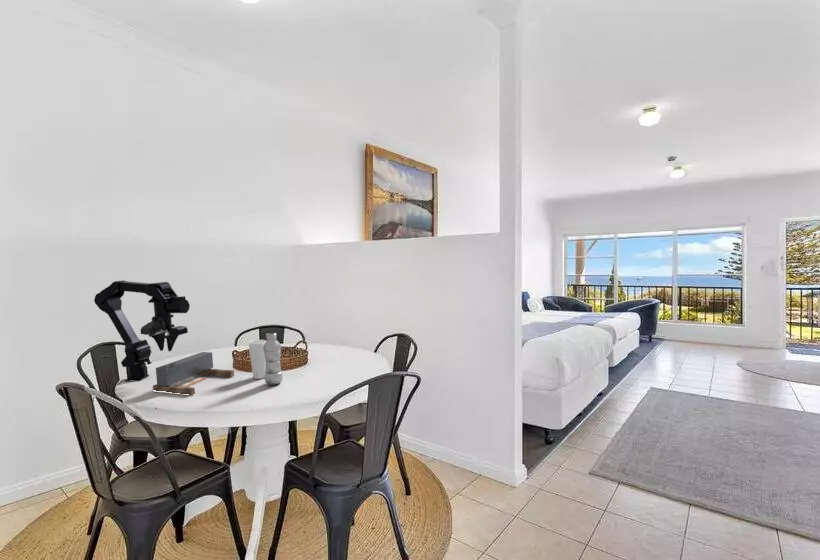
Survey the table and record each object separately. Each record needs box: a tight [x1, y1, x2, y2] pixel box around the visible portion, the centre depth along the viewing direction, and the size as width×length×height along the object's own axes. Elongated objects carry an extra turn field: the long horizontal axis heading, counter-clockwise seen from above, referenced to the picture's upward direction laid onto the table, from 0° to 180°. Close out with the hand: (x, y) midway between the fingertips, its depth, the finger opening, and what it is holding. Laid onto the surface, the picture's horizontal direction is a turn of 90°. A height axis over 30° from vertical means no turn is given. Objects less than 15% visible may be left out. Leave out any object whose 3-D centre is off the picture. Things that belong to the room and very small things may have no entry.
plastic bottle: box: [263, 332, 283, 386], centre depth 161 cm, size 6×7×20 cm
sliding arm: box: [155, 351, 214, 386], centre depth 166 cm, size 5×23×6 cm, turn 164°
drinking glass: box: [248, 339, 267, 380], centre depth 170 cm, size 7×7×15 cm
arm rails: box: [152, 368, 235, 396], centre depth 165 cm, size 18×22×2 cm
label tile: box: [170, 376, 207, 387], centre depth 166 cm, size 8×11×1 cm
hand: (165, 350), depth 170 cm, fingers open, 4 cm apart
